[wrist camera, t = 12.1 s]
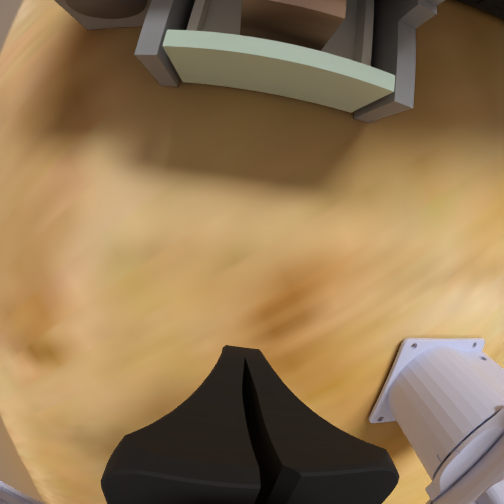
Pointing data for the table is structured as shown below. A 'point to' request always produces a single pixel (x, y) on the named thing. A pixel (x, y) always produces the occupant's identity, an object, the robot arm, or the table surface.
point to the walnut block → (293, 20)
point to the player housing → (179, 11)
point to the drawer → (280, 58)
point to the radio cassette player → (488, 6)
